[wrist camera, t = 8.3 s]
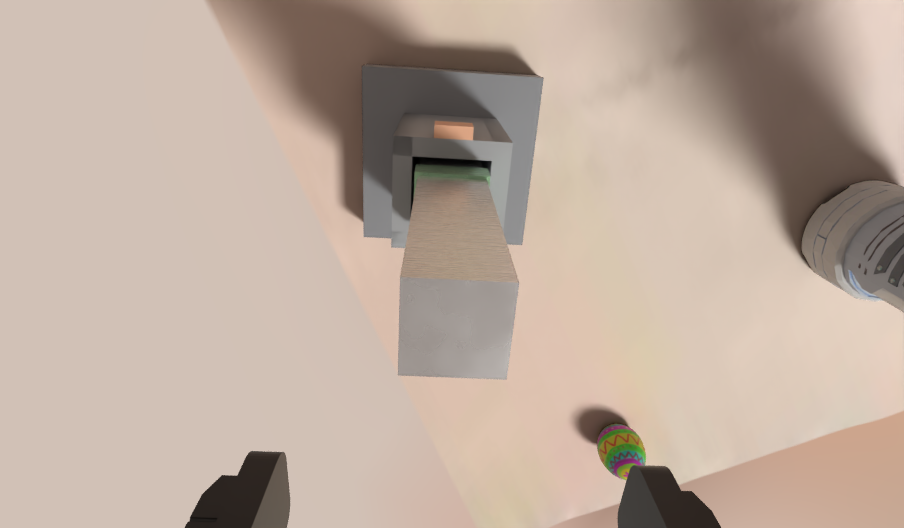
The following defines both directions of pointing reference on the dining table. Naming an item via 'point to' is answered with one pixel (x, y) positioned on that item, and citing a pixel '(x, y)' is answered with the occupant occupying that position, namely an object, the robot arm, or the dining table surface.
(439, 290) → the column
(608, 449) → the egg
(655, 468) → the robot arm
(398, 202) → the stand
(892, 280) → the canister
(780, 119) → the dining table surface
